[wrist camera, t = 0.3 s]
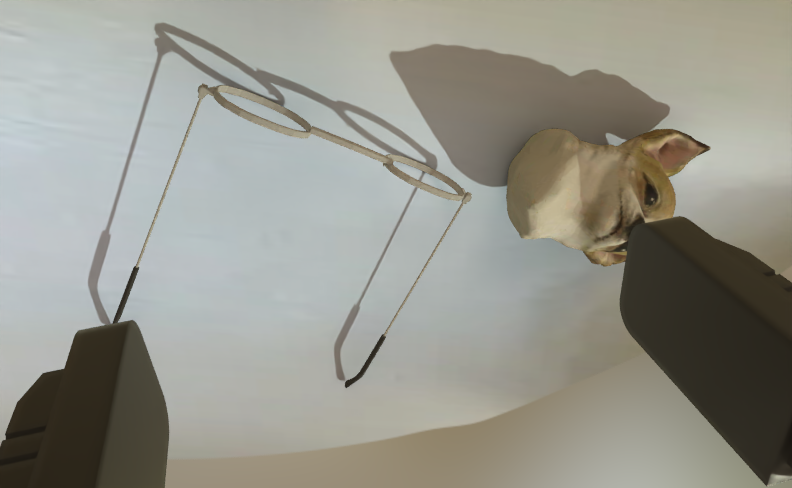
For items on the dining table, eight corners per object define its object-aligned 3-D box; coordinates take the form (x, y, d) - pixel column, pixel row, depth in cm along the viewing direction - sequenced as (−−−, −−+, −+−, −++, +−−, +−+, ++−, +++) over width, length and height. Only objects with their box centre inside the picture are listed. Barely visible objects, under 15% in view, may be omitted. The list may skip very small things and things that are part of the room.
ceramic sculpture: (584, 127, 32) (780, 173, 38) (511, 79, 39) (686, 124, 45) (509, 296, 37) (695, 314, 43) (456, 226, 44) (621, 250, 50)
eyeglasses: (465, 177, 42) (485, 203, 39) (347, 379, 49) (355, 416, 46) (204, 66, 35) (200, 87, 32) (108, 322, 42) (97, 362, 39)
